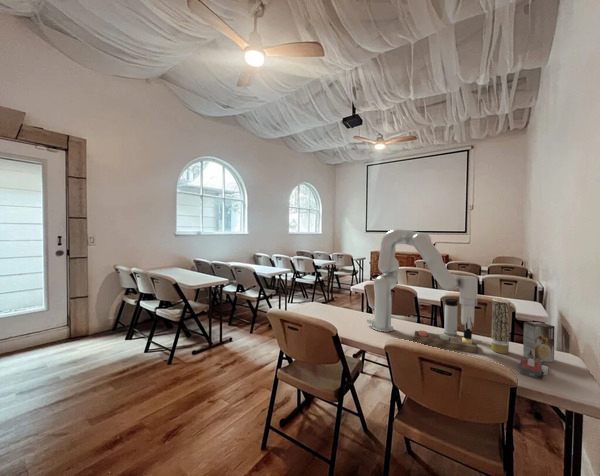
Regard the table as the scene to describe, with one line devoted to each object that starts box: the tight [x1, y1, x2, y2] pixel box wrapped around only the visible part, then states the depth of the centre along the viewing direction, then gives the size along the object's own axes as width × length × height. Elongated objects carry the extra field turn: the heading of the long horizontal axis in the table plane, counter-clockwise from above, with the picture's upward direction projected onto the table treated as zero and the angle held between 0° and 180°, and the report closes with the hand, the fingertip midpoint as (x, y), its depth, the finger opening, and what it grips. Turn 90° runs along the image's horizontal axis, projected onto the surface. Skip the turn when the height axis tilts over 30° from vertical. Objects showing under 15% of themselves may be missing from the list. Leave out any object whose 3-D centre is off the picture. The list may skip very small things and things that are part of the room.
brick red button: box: [417, 330, 428, 337], centre depth 145 cm, size 4×4×3 cm
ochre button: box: [461, 336, 473, 344], centre depth 136 cm, size 4×4×3 cm
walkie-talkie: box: [519, 358, 549, 380], centre depth 115 cm, size 9×4×20 cm
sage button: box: [439, 333, 449, 341], centre depth 140 cm, size 4×4×3 cm
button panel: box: [413, 330, 479, 354], centre depth 140 cm, size 28×10×3 cm, turn 64°
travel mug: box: [443, 298, 459, 337], centre depth 155 cm, size 6×7×20 cm
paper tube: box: [490, 297, 511, 355], centre depth 132 cm, size 7×7×25 cm
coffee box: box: [522, 321, 556, 363], centre depth 125 cm, size 9×6×16 cm
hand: (467, 338), depth 136 cm, fingers closed
